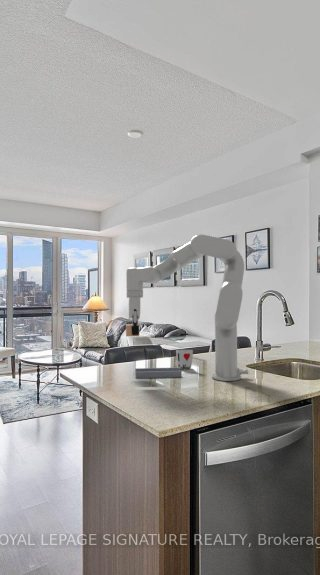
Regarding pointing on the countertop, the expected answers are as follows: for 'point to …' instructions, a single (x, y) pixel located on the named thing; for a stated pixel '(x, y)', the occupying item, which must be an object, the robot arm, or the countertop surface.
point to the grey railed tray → (157, 372)
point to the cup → (184, 359)
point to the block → (129, 330)
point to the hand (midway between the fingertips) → (135, 333)
